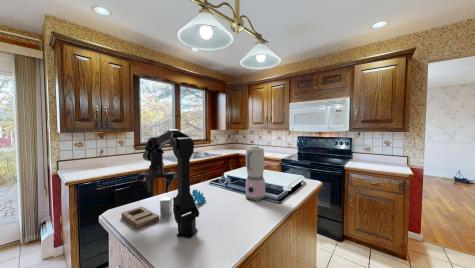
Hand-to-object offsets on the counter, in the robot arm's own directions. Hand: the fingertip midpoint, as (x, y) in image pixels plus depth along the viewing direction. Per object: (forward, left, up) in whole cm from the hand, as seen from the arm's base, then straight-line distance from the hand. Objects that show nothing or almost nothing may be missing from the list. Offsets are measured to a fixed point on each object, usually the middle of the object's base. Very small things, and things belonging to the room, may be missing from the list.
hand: (157, 192), depth 97 cm
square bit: (-3, -2, -11) cm, 12 cm away
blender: (-44, -33, -12) cm, 56 cm away
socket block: (+6, +6, -11) cm, 14 cm away
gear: (-13, -20, -12) cm, 26 cm away
